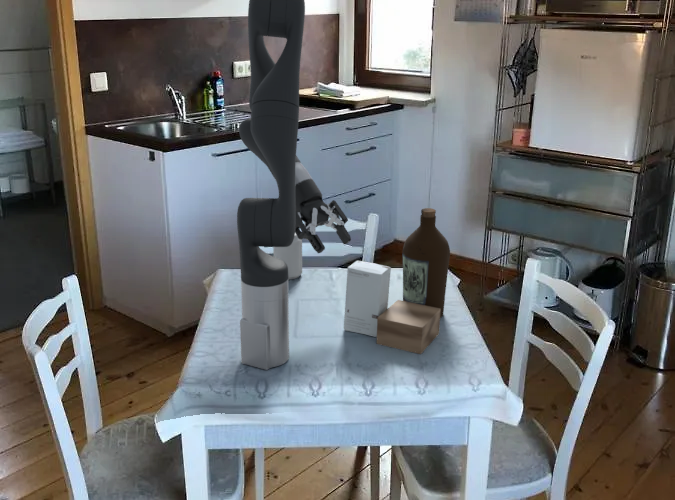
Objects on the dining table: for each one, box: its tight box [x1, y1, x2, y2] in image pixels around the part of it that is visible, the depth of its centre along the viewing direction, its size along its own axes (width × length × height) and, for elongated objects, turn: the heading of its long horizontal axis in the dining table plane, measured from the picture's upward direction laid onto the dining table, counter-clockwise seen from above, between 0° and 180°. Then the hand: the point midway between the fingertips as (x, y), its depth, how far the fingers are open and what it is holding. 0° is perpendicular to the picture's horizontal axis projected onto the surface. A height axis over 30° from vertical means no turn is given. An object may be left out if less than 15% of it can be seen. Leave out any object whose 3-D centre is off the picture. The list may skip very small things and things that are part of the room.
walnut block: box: [376, 299, 441, 355], centre depth 157 cm, size 11×10×6 cm
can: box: [272, 233, 303, 280], centre depth 191 cm, size 8×8×12 cm
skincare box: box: [343, 260, 392, 338], centre depth 160 cm, size 8×6×15 cm
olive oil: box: [402, 207, 451, 319], centre depth 166 cm, size 11×11×25 cm
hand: (335, 246), depth 163 cm, fingers open, 8 cm apart
